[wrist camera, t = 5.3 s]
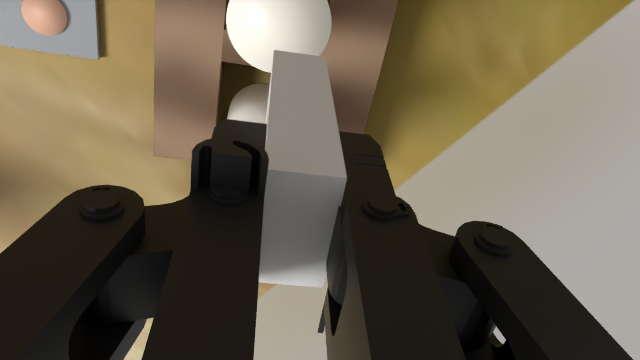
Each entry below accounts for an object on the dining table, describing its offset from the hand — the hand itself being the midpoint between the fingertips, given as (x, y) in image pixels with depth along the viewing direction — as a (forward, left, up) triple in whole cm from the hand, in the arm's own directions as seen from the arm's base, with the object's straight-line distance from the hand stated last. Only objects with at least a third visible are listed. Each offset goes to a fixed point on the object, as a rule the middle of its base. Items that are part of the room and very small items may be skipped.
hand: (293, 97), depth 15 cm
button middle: (+1, 0, -16) cm, 16 cm away
